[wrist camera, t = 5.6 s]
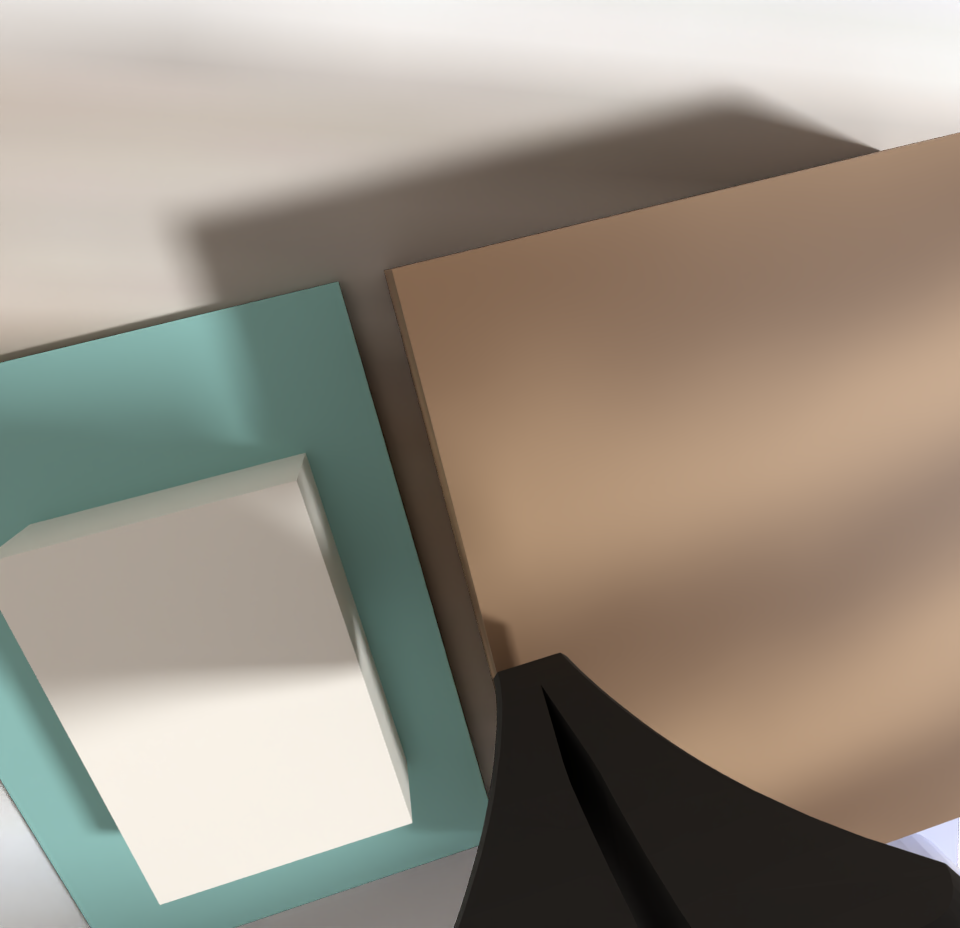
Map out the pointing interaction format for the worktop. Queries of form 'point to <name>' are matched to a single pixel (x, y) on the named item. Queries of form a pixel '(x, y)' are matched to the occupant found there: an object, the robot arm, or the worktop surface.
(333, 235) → the worktop surface
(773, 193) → the board
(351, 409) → the mat
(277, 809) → the cream white block
